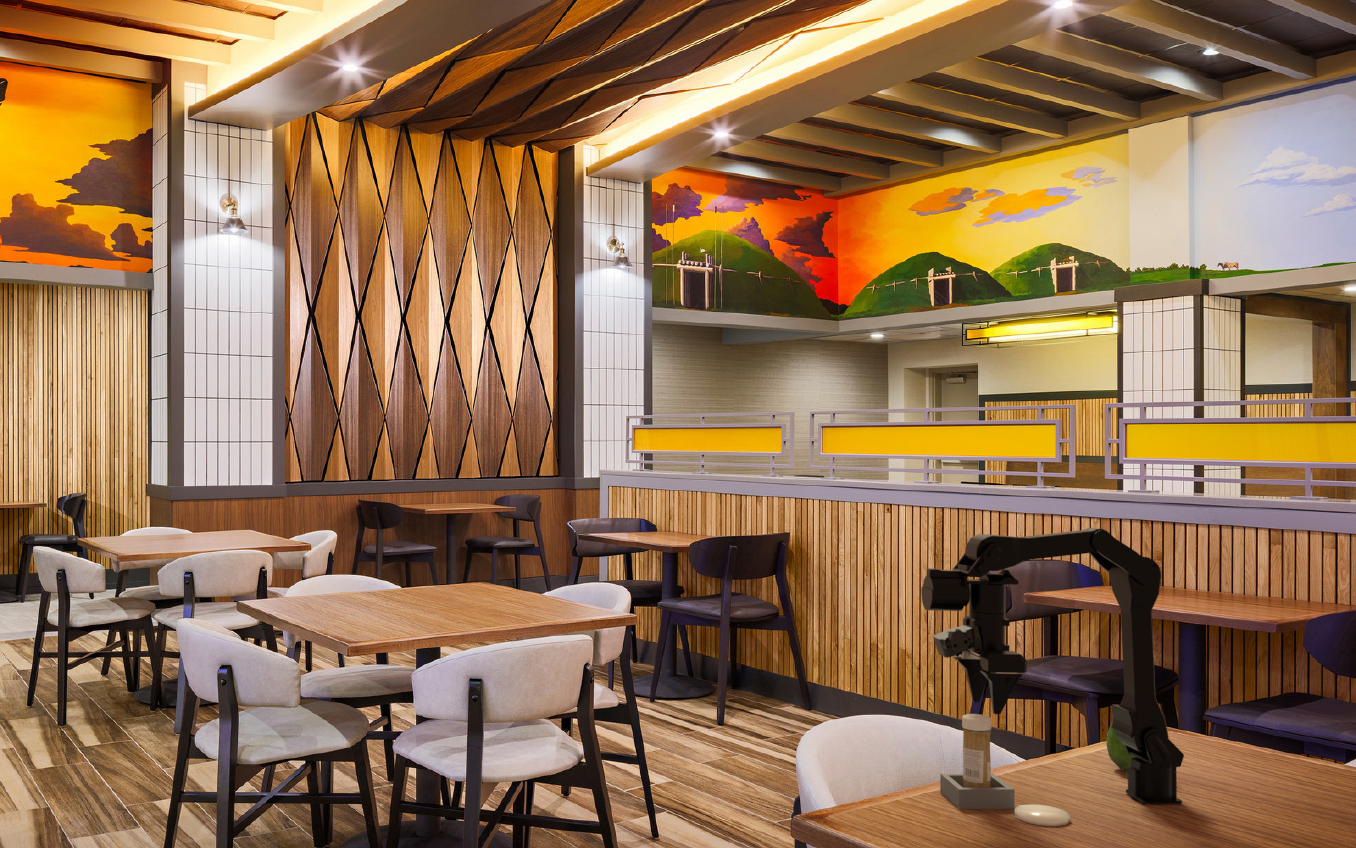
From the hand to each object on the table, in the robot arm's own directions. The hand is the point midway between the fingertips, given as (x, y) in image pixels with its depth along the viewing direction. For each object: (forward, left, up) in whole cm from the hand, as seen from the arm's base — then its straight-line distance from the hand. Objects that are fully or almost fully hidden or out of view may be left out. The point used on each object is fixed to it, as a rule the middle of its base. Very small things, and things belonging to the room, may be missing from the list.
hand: (986, 708), depth 172 cm
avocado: (-33, -17, -15) cm, 40 cm away
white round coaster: (-5, +9, -15) cm, 18 cm away
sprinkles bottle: (+2, 0, -15) cm, 15 cm away
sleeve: (+2, 0, -15) cm, 15 cm away
